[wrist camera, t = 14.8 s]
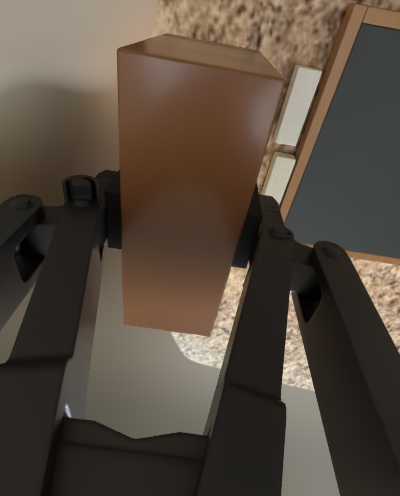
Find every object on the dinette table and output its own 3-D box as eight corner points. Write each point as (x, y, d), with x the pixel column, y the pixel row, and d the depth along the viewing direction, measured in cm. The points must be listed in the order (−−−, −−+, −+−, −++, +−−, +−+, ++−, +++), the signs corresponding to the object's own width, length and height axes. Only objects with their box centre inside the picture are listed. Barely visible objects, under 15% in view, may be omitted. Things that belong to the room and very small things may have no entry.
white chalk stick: (293, 154, 24) (274, 150, 24) (296, 159, 23) (276, 155, 23) (274, 207, 27) (257, 204, 27) (276, 214, 26) (258, 210, 26)
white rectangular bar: (317, 68, 20) (295, 64, 20) (322, 71, 19) (298, 66, 19) (292, 141, 23) (272, 137, 23) (295, 146, 22) (275, 142, 22)
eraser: (165, 33, 14) (116, 47, 8) (259, 50, 14) (286, 79, 8) (152, 234, 21) (122, 324, 15) (215, 244, 22) (210, 338, 15)
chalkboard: (348, 4, 18) (355, 3, 17) (561, 44, 19) (580, 46, 18) (265, 237, 29) (267, 245, 28) (401, 258, 30) (407, 266, 29)
